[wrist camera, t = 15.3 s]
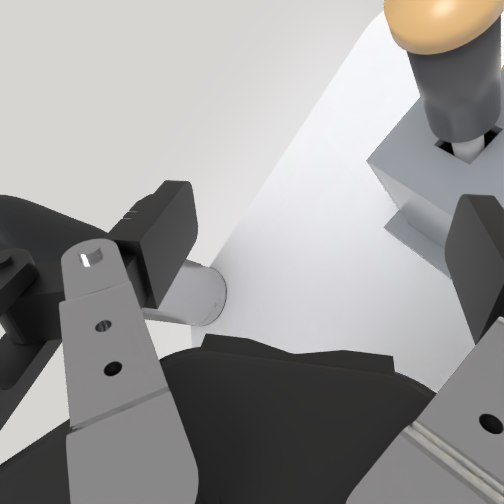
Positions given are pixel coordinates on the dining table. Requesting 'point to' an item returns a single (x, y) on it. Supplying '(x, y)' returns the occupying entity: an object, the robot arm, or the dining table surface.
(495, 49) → the plunger
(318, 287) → the dining table surface
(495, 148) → the column
